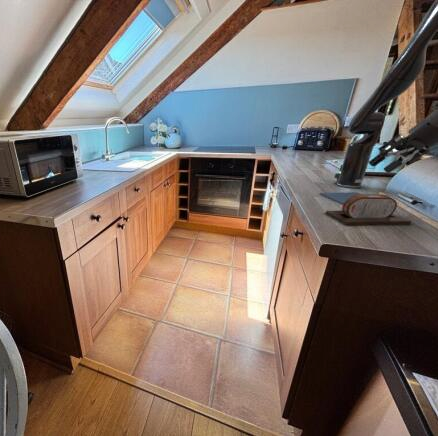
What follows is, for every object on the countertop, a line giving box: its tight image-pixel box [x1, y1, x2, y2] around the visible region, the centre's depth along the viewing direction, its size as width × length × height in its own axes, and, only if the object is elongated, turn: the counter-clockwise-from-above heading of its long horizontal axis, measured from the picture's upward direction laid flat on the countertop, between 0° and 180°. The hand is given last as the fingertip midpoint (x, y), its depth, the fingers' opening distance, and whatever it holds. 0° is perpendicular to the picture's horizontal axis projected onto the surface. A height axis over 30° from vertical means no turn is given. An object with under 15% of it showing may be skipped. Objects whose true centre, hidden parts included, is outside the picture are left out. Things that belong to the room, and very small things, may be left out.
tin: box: [341, 193, 398, 218], centre depth 80 cm, size 15×3×8 cm, turn 84°
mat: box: [320, 192, 361, 205], centre depth 101 cm, size 14×16×1 cm
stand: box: [325, 210, 412, 226], centre depth 82 cm, size 10×20×1 cm, turn 89°
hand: (378, 167), depth 80 cm, fingers open, 8 cm apart
